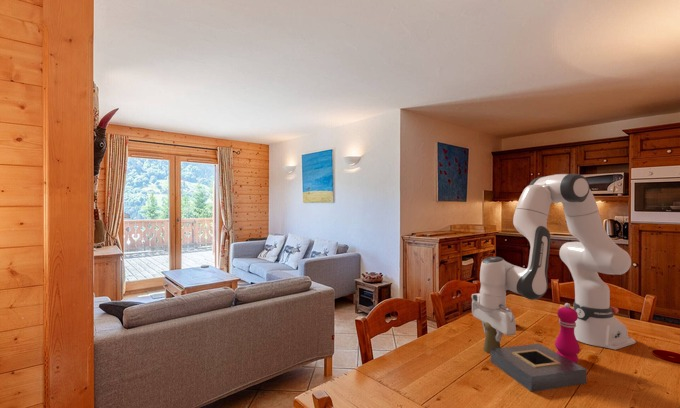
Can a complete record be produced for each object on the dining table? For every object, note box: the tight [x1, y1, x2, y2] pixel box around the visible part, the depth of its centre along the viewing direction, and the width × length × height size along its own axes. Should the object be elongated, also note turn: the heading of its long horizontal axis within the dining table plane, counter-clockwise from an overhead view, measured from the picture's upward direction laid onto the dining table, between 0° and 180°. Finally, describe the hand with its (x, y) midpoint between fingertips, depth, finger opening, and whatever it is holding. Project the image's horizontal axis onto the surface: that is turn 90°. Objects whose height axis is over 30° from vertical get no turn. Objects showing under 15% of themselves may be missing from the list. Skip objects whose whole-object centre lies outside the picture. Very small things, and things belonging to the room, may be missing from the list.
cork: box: [483, 322, 502, 355], centre depth 121 cm, size 6×6×11 cm
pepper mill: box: [554, 302, 581, 364], centre depth 114 cm, size 7×7×20 cm
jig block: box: [490, 343, 588, 393], centre depth 106 cm, size 20×18×5 cm
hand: (492, 337), depth 121 cm, fingers closed on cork, 4 cm apart
